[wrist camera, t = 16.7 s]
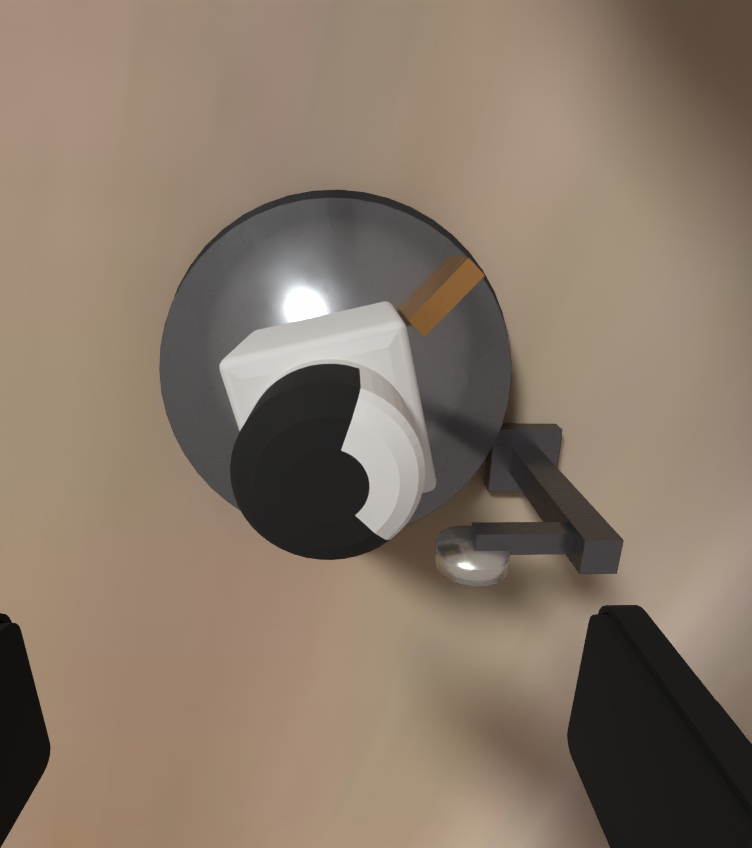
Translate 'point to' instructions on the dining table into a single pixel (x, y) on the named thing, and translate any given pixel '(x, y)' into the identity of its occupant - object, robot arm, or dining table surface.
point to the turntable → (333, 292)
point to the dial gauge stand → (558, 533)
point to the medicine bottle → (328, 432)
